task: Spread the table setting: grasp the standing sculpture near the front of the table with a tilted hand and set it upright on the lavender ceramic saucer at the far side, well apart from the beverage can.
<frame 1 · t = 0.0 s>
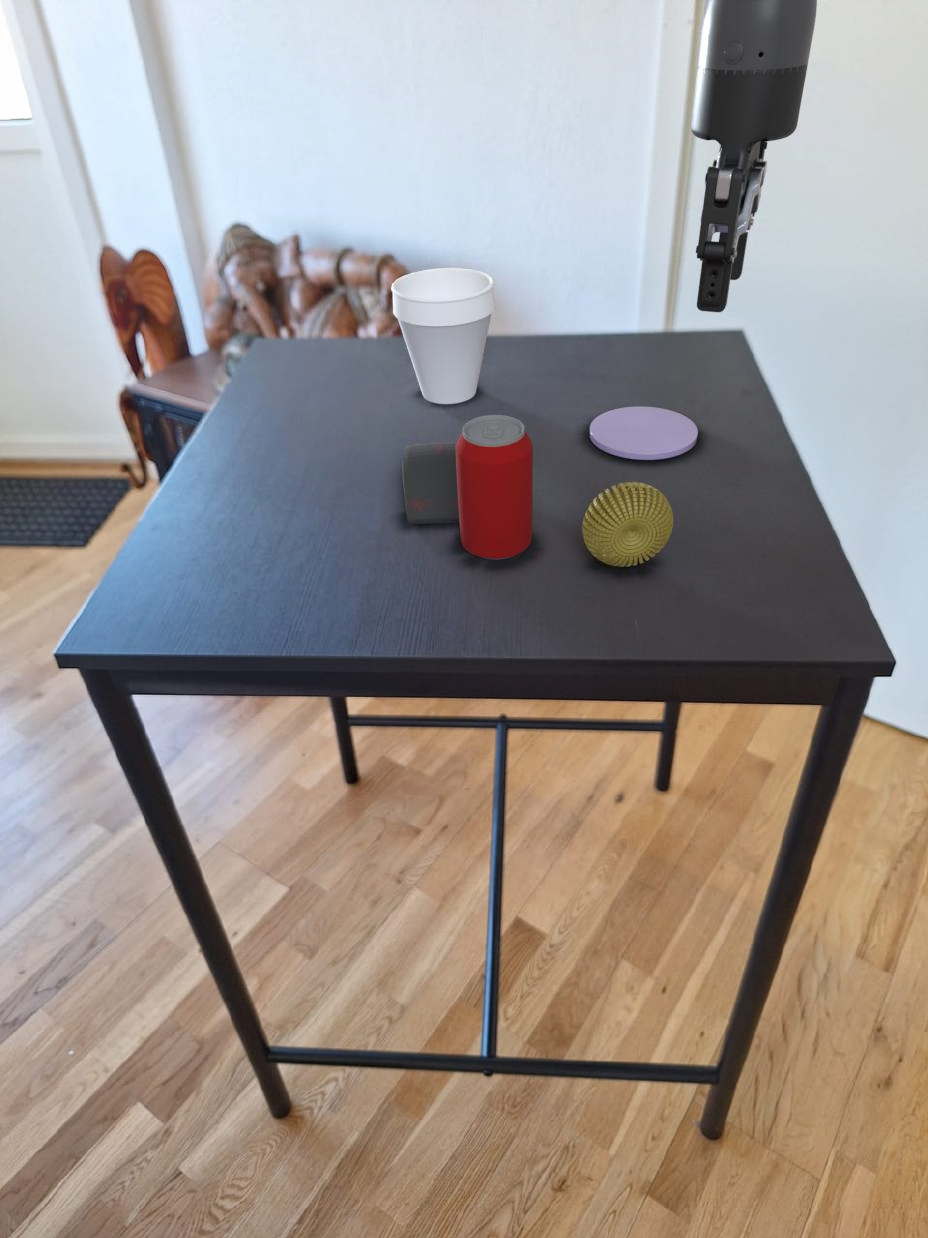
hand: (719, 293, 69), 21 cm above the table, tool pointing down, fingers open, 8 cm apart
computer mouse: (442, 491, 88), on the table
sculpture: (623, 564, 76), on the table
beverage can: (496, 547, 79), on the table
saucer: (642, 436, 95), on the table
cup: (449, 394, 107), on the table
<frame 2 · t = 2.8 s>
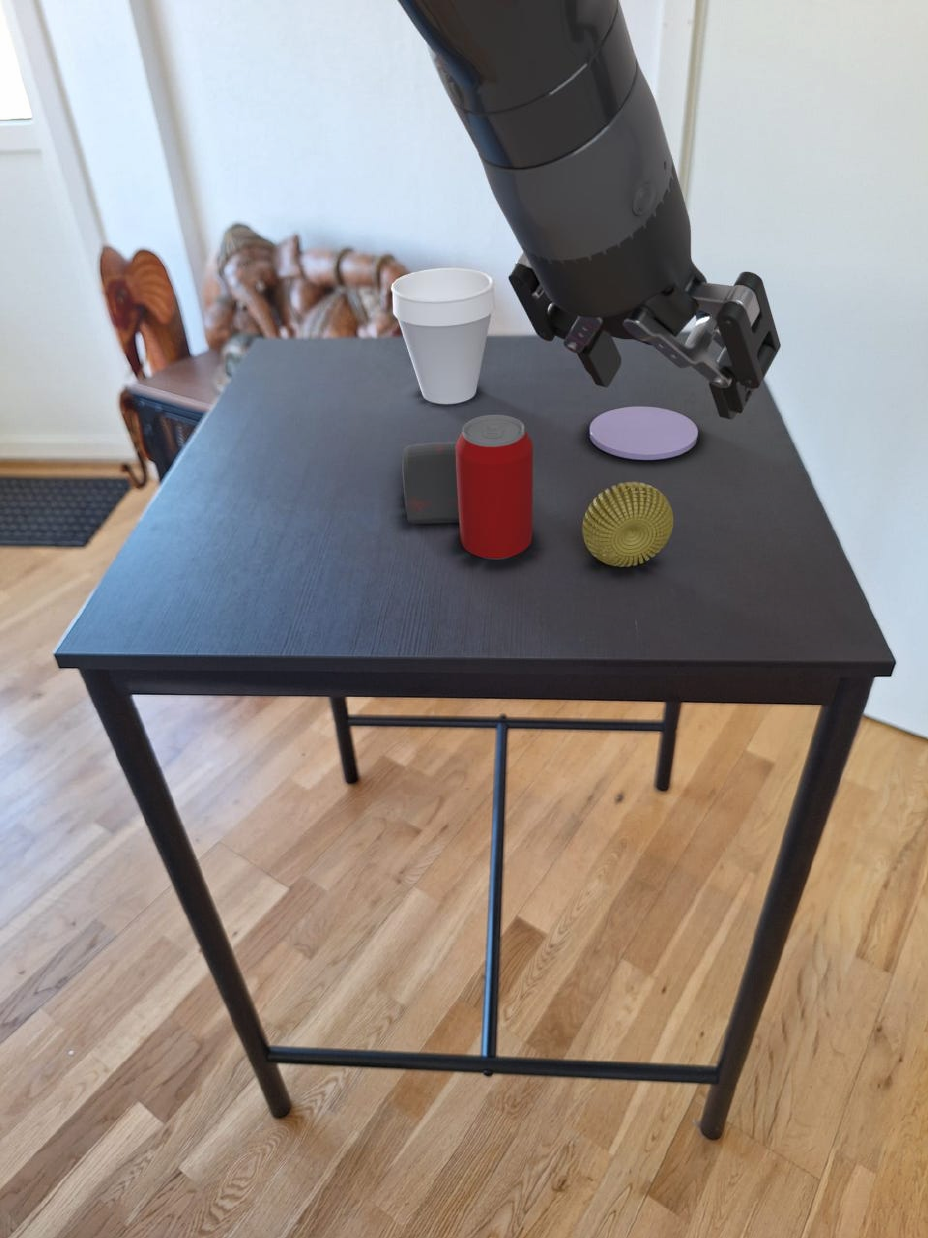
hand: (669, 389, 51), 23 cm above the table, tool tilted 35°, fingers open, 8 cm apart
nothing on the table moved.
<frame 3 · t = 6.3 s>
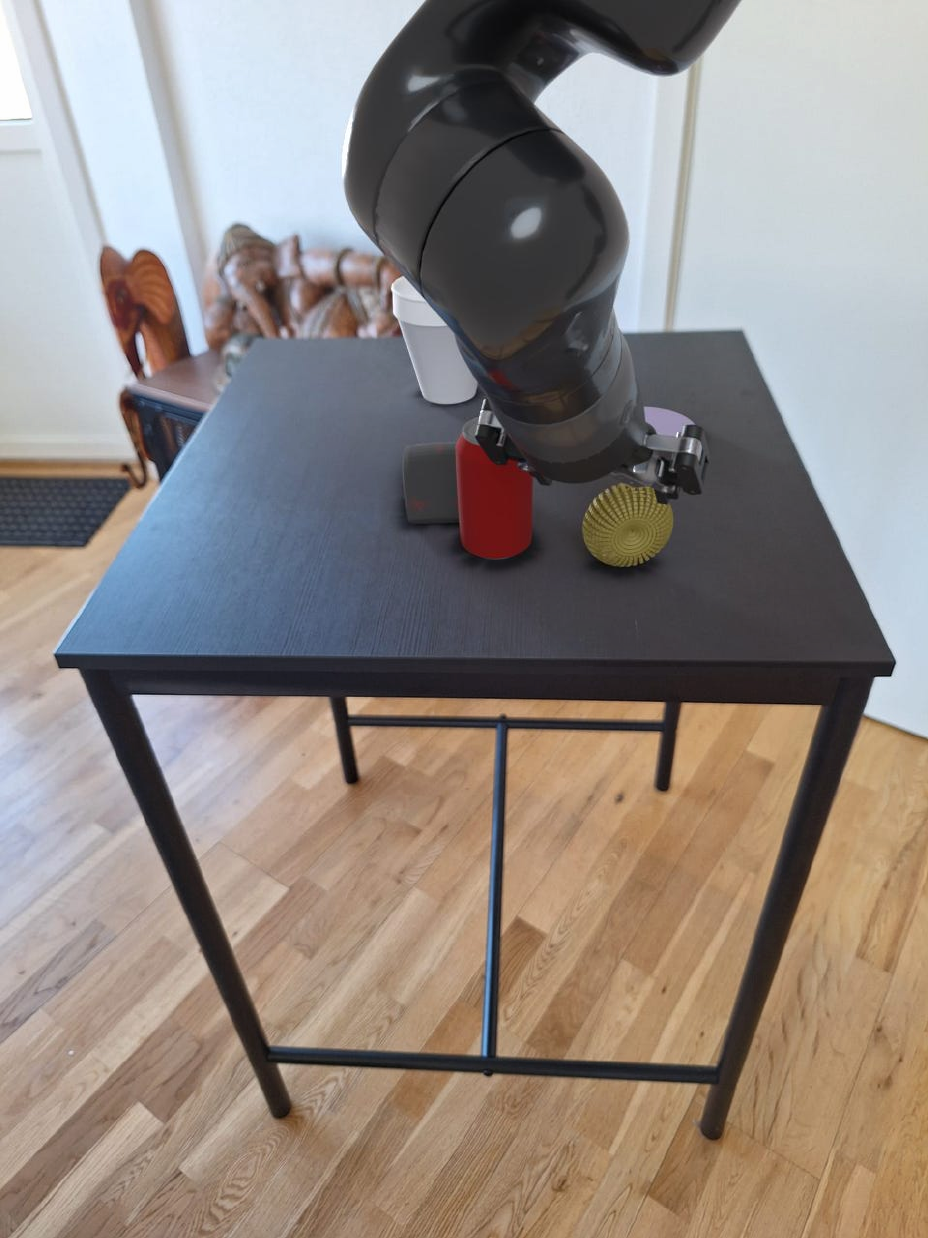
hand: (606, 481, 60), 14 cm above the table, tool tilted 45°, fingers open, 8 cm apart
nothing on the table moved.
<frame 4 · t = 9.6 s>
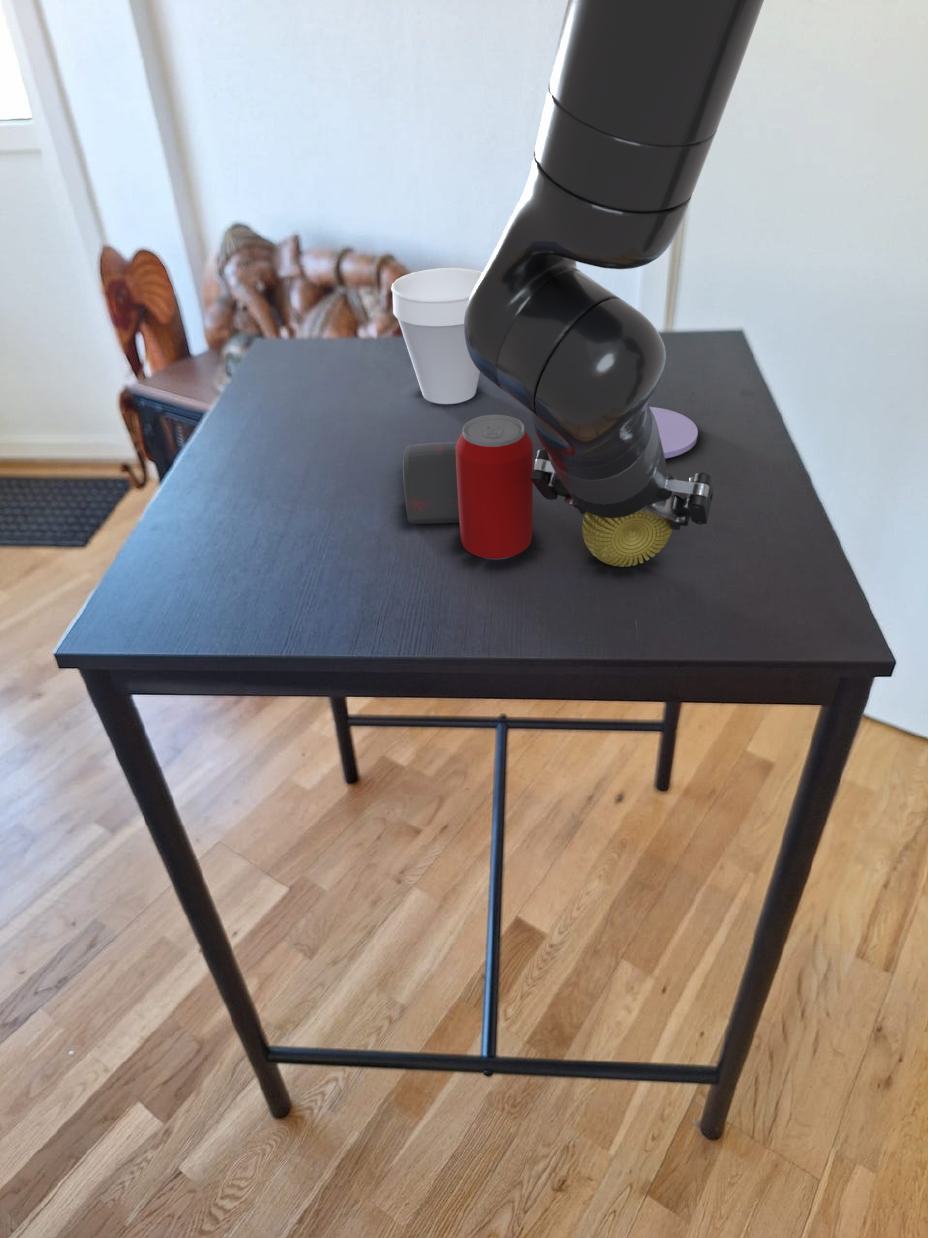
hand: (632, 510, 74), 5 cm above the table, tool tilted 45°, fingers closed on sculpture, 7 cm apart
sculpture: (623, 564, 76), on the table, touching gripper
everything else where it was.
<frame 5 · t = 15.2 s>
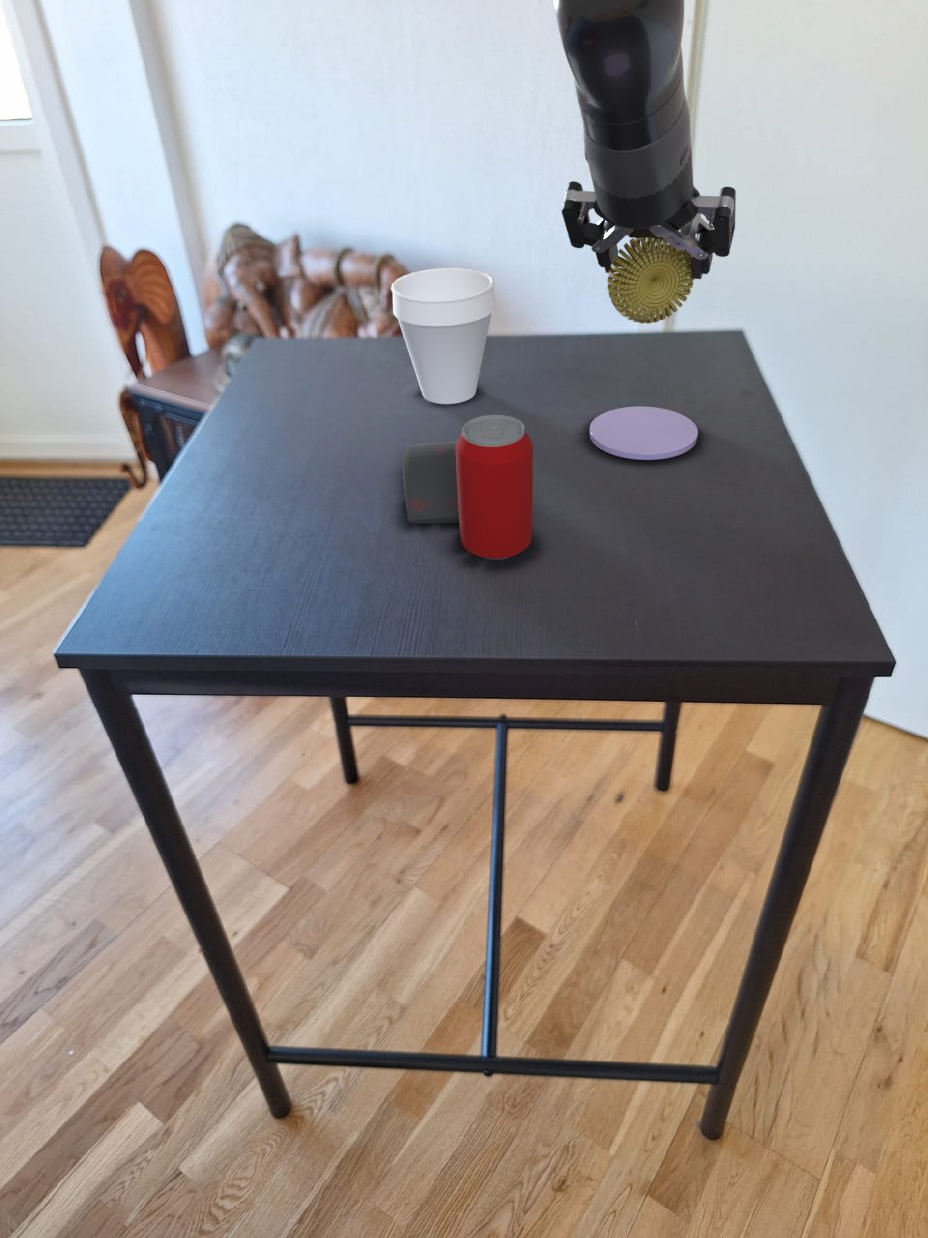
hand: (655, 266, 77), 20 cm above the table, tool tilted 45°, fingers closed on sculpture, 7 cm apart
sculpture: (646, 324, 79), point 16 cm above the table, touching gripper
everything else where it was.
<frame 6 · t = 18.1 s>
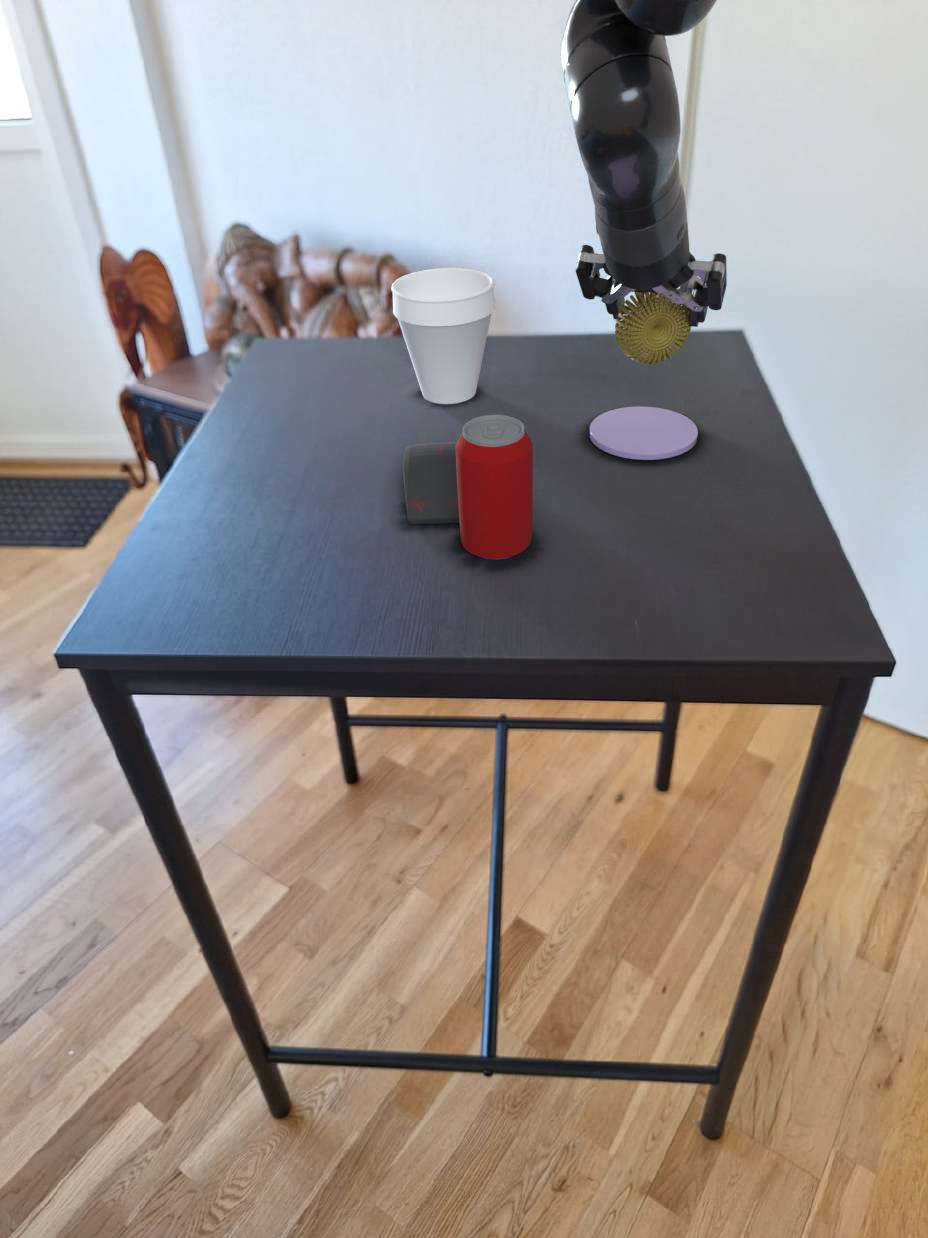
hand: (657, 314, 88), 13 cm above the table, tool tilted 45°, fingers closed on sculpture, 7 cm apart
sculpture: (649, 364, 90), point 9 cm above the table, touching gripper
everything else where it was.
when the fingers open (6 cm above the table, at t = 20.9 s): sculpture stays where it is, resting on saucer.
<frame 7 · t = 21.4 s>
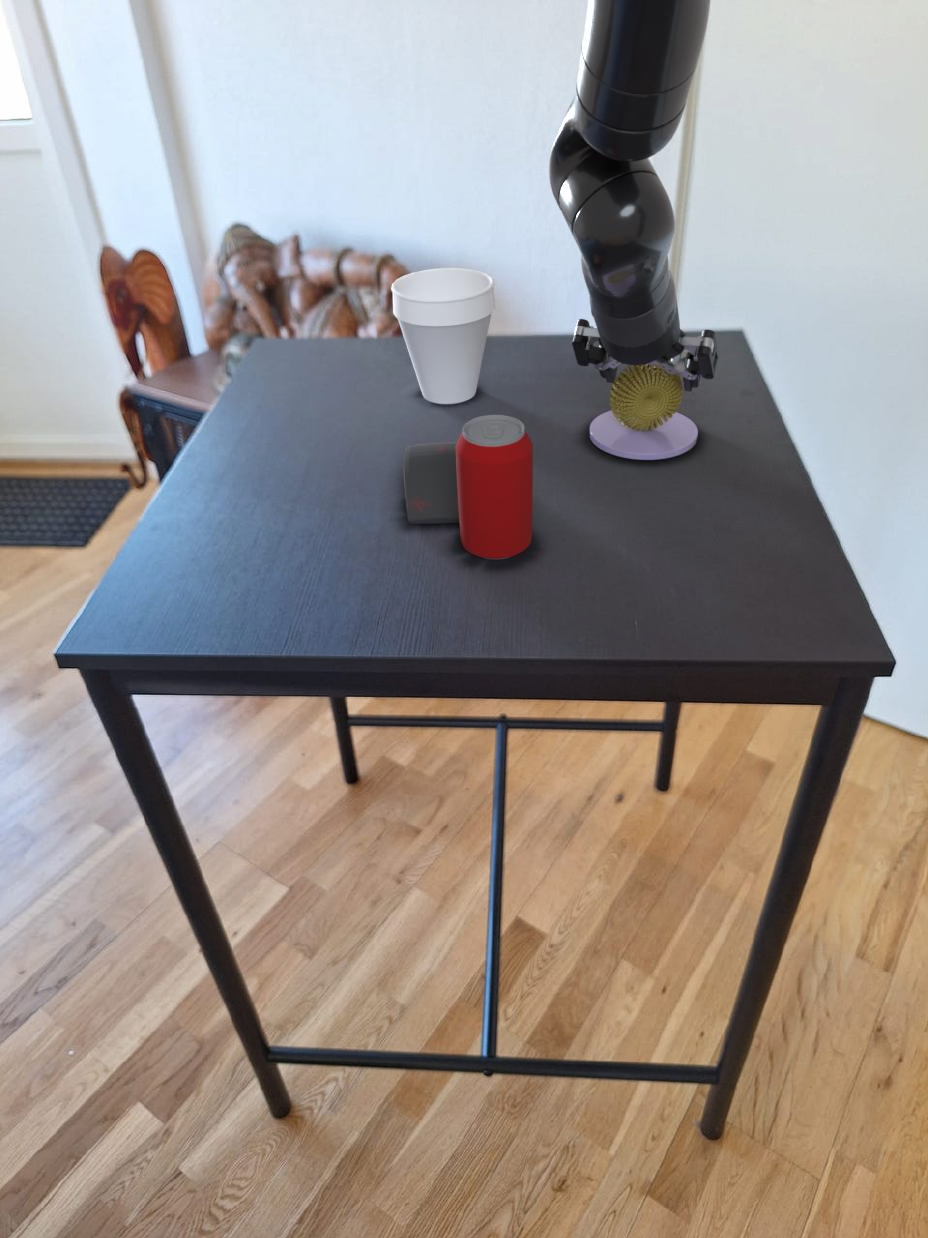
hand: (650, 378, 92), 6 cm above the table, tool tilted 45°, fingers open, 8 cm apart
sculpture: (642, 430, 95), point 1 cm above the table, touching saucer
everything else where it was.
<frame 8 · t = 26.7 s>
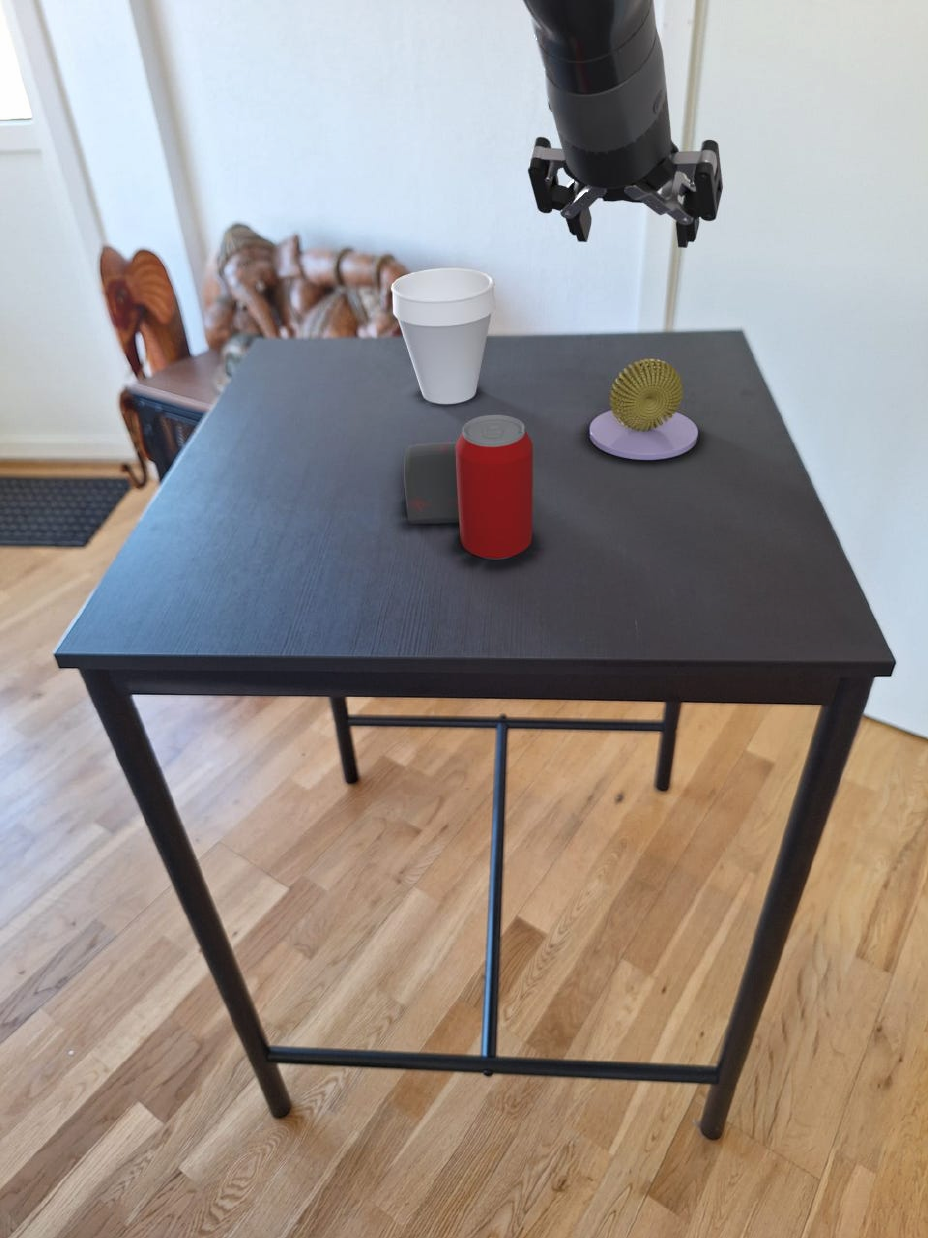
hand: (634, 234, 71), 25 cm above the table, tool tilted 45°, fingers open, 8 cm apart
nothing on the table moved.
at the end: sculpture inside the target area on the saucer (0.1 cm from its centre), point 0.8 cm above the saucer's base; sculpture tilted 0°; beverage can moved 0.2 cm from its start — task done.
